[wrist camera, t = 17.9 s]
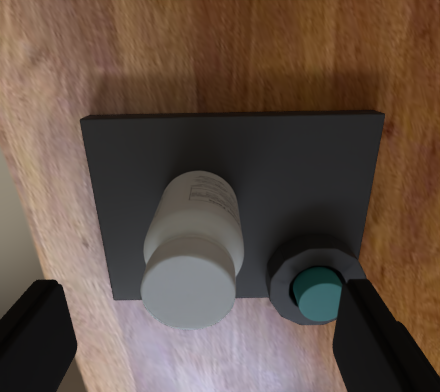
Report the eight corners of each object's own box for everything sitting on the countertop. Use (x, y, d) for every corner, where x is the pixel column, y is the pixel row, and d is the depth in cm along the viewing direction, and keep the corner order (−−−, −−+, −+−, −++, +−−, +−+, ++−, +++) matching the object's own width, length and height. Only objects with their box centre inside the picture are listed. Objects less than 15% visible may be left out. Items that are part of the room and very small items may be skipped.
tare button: (341, 265, 19) (352, 282, 17) (335, 302, 20) (344, 321, 18) (294, 266, 19) (300, 283, 17) (291, 303, 20) (296, 322, 18)
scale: (373, 109, 18) (403, 118, 15) (342, 292, 23) (360, 324, 20) (88, 114, 18) (64, 124, 15) (121, 296, 23) (107, 329, 20)
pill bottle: (184, 248, 19) (166, 355, 12) (147, 188, 18) (101, 273, 11) (249, 219, 19) (269, 317, 12) (217, 155, 17) (216, 222, 10)
